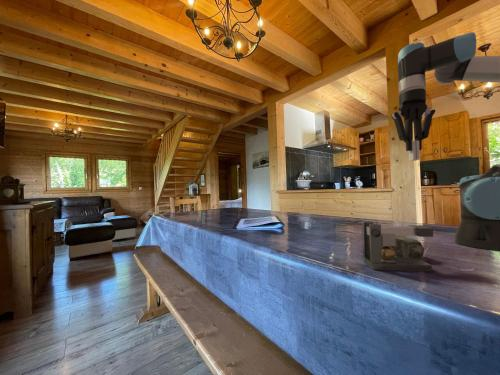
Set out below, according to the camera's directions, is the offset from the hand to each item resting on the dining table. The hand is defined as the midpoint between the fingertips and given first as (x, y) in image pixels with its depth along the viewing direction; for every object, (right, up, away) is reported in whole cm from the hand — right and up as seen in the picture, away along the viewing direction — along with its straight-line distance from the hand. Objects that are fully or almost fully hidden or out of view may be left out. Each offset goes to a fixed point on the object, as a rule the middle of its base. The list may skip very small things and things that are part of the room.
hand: (414, 160), depth 75 cm
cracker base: (-19, -30, -20) cm, 40 cm away
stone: (-12, -30, -9) cm, 34 cm away
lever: (-19, -24, -20) cm, 36 cm away
